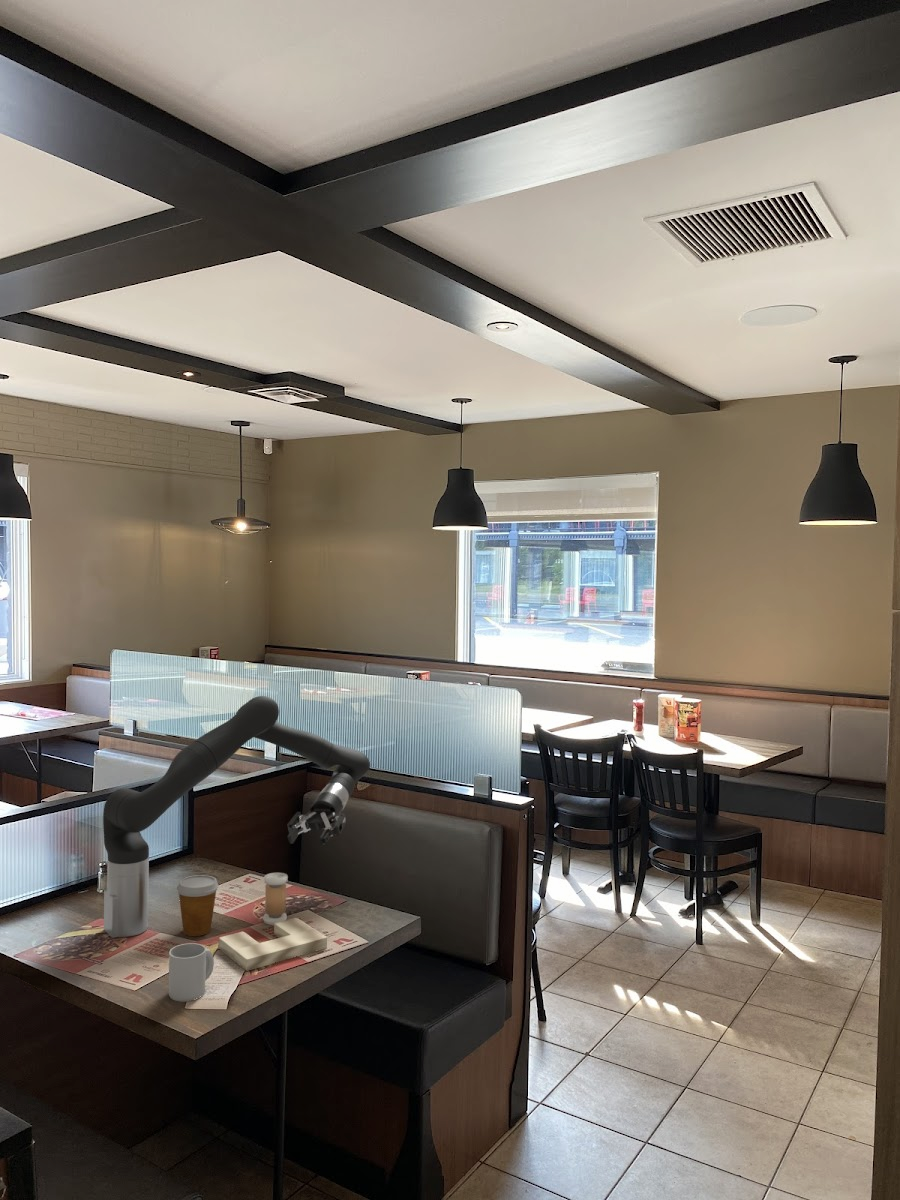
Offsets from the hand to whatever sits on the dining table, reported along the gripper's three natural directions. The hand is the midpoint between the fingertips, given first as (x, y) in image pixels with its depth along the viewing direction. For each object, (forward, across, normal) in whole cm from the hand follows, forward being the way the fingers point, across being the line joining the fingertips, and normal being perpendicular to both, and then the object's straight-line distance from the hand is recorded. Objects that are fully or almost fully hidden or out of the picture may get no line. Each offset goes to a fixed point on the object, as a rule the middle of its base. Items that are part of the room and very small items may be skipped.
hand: (305, 841), depth 225 cm
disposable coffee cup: (+23, -21, +10) cm, 32 cm away
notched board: (+25, +1, +10) cm, 27 cm away
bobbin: (+12, -6, +15) cm, 20 cm away
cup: (+48, -5, +2) cm, 48 cm away
